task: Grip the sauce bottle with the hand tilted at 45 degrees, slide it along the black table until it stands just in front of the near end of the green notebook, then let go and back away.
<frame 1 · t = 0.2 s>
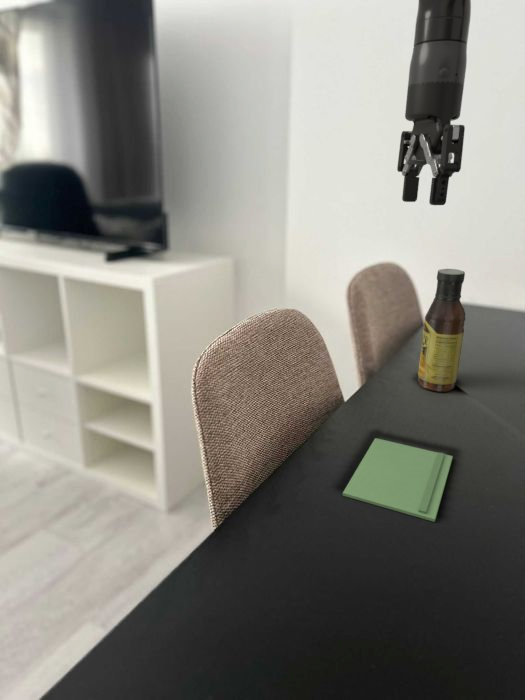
hand: (422, 203, 77), 30 cm above the table, tool pointing down, fingers open, 8 cm apart
sauce bottle: (435, 387, 87), on the table
green notebook: (400, 476, 61), on the table
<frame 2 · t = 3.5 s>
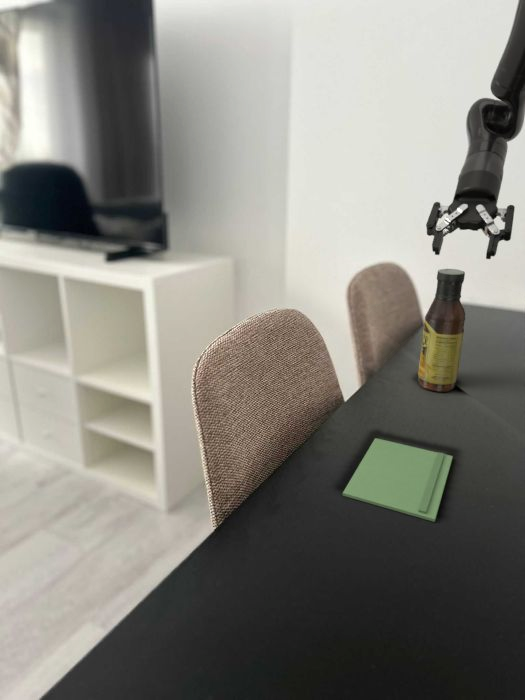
hand: (461, 254, 89), 21 cm above the table, tool tilted 45°, fingers open, 8 cm apart
nothing on the table moved.
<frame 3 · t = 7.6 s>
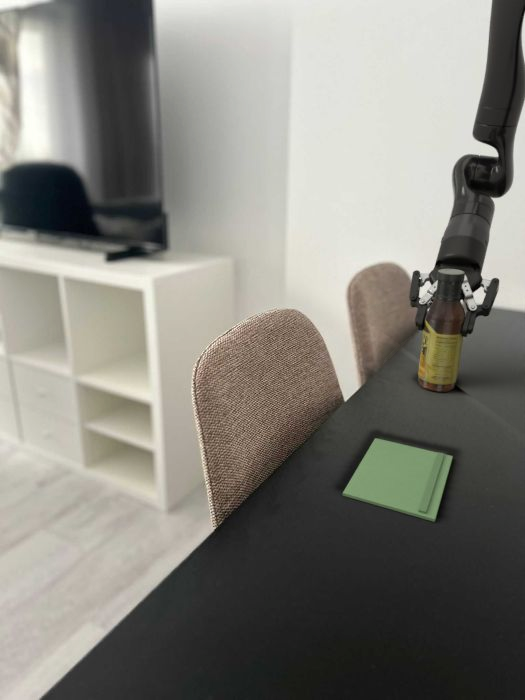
hand: (441, 330, 82), 10 cm above the table, tool tilted 45°, fingers closed on sauce bottle, 6 cm apart
sauce bottle: (435, 387, 87), on the table, touching gripper
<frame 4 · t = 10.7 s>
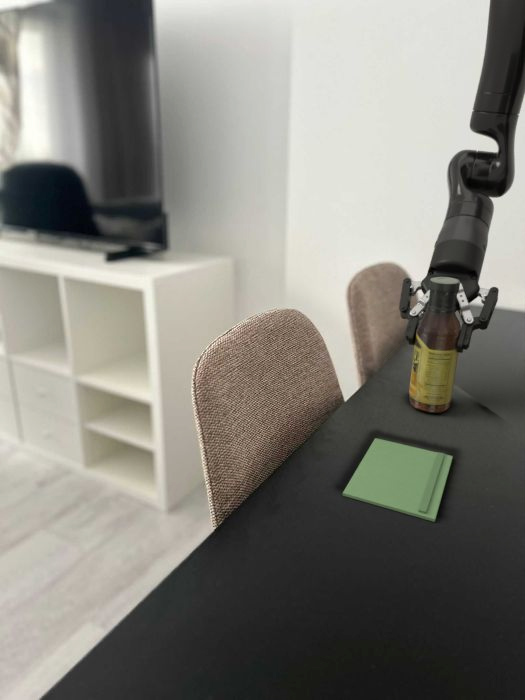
hand: (434, 345, 74), 11 cm above the table, tool tilted 45°, fingers closed on sauce bottle, 6 cm apart
sauce bottle: (428, 407, 79), on the table, touching gripper
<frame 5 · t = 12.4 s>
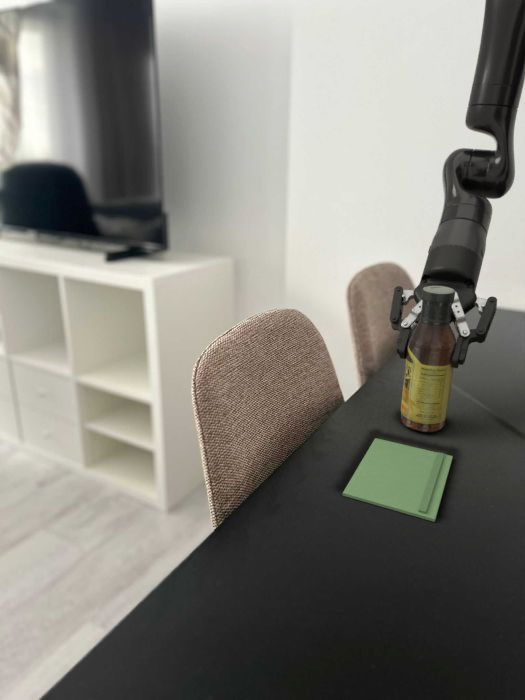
hand: (427, 360, 68), 11 cm above the table, tool tilted 45°, fingers closed on sauce bottle, 6 cm apart
sauce bottle: (421, 425, 73), on the table, touching gripper
when the fingers open (10 cm above the table, at t = 13.9 s): sauce bottle stays where it is, on the table.
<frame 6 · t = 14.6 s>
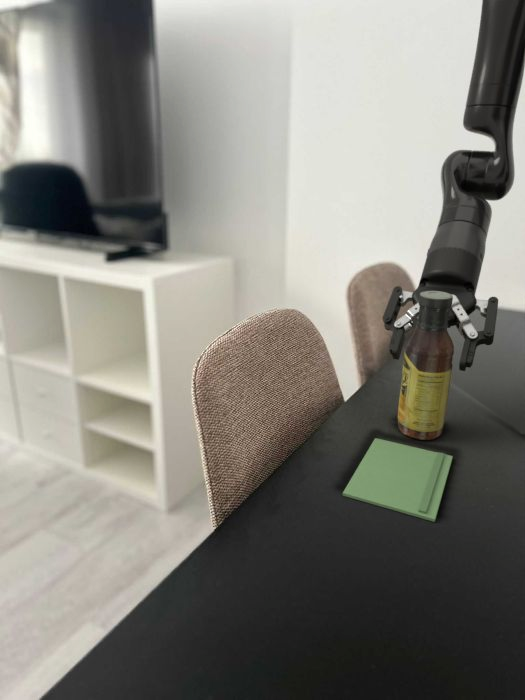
hand: (427, 362, 67), 11 cm above the table, tool tilted 45°, fingers open, 8 cm apart
sauce bottle: (418, 433, 72), on the table
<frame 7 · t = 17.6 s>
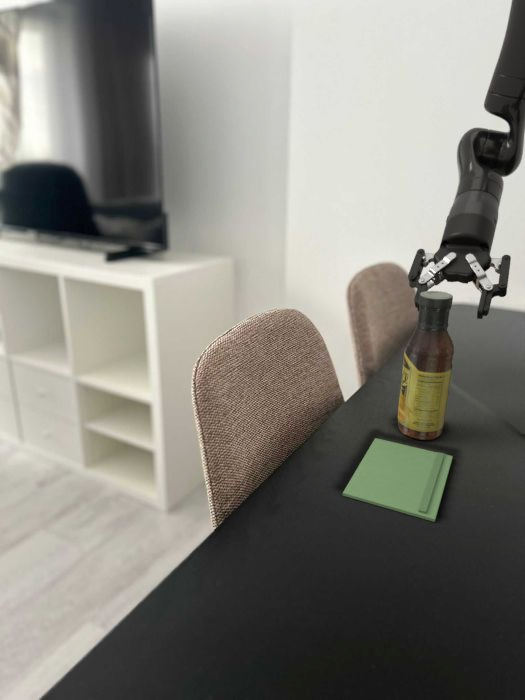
hand: (448, 312, 76), 15 cm above the table, tool tilted 45°, fingers open, 8 cm apart
nothing on the table moved.
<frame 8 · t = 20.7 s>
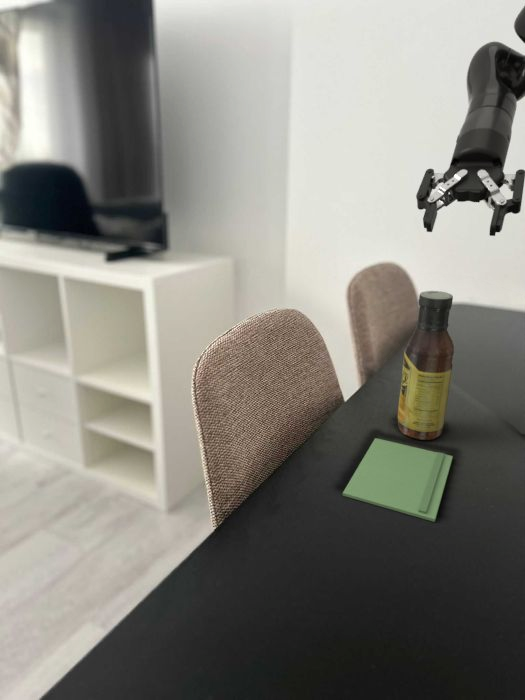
hand: (459, 230, 72), 27 cm above the table, tool tilted 45°, fingers open, 8 cm apart
nothing on the table moved.
at the end: sauce bottle inside the target area on the table beside the green notebook (0.2 cm from its centre), on the table; sauce bottle tilted 0°; the gripper is holding nothing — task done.
